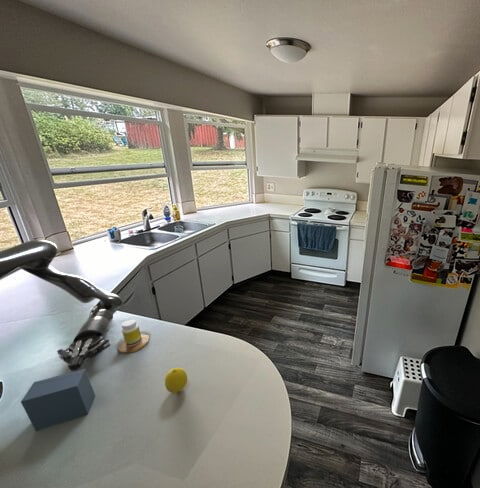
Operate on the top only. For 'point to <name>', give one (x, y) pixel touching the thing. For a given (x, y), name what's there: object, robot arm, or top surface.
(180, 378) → the lemon
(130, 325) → the supplement bottle
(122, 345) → the coaster
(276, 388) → the top surface
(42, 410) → the dark gray rectangular block
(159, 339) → the top surface
